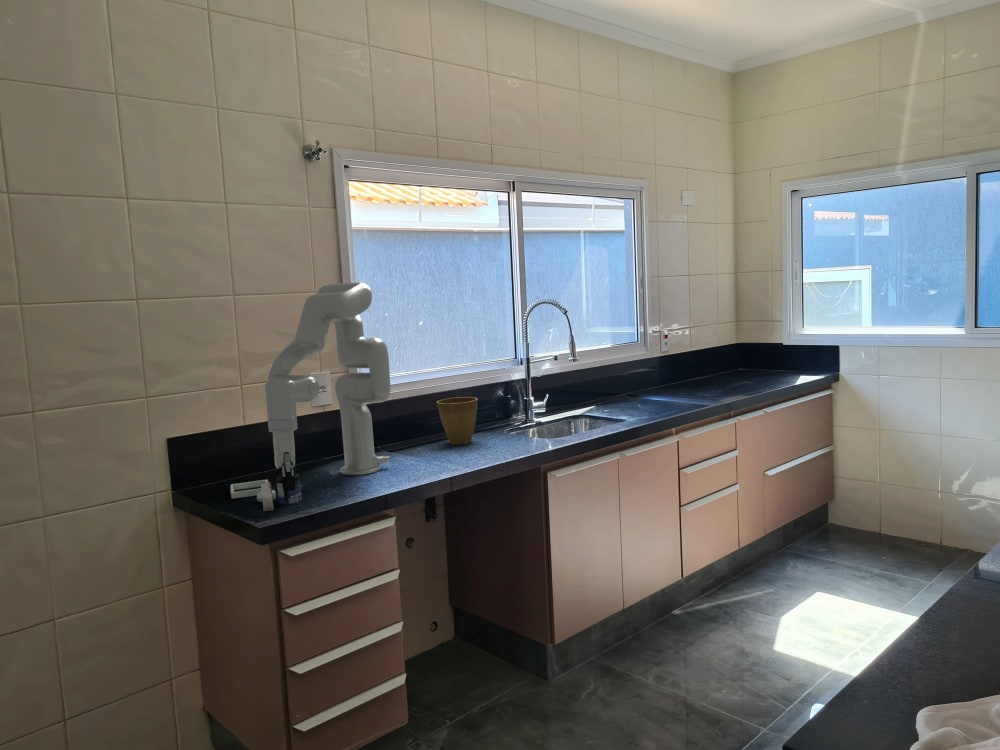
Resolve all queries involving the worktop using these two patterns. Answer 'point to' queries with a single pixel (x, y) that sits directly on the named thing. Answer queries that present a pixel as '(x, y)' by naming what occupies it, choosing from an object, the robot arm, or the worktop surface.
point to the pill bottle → (289, 496)
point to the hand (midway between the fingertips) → (288, 486)
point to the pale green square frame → (244, 486)
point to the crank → (266, 496)
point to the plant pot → (458, 418)
